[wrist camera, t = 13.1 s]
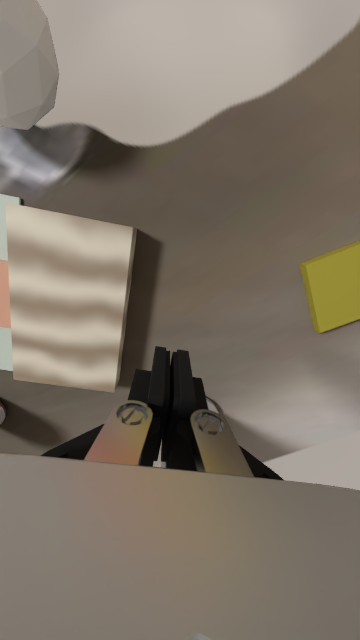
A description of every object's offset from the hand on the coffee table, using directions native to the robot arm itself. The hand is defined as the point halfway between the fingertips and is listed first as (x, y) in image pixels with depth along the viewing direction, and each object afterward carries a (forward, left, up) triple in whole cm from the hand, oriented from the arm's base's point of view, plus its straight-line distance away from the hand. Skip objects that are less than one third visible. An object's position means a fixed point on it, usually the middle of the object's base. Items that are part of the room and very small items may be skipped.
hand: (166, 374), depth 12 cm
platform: (-6, +14, -27) cm, 31 cm away
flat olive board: (+8, -33, -28) cm, 44 cm away
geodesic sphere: (+21, +22, -27) cm, 41 cm away
